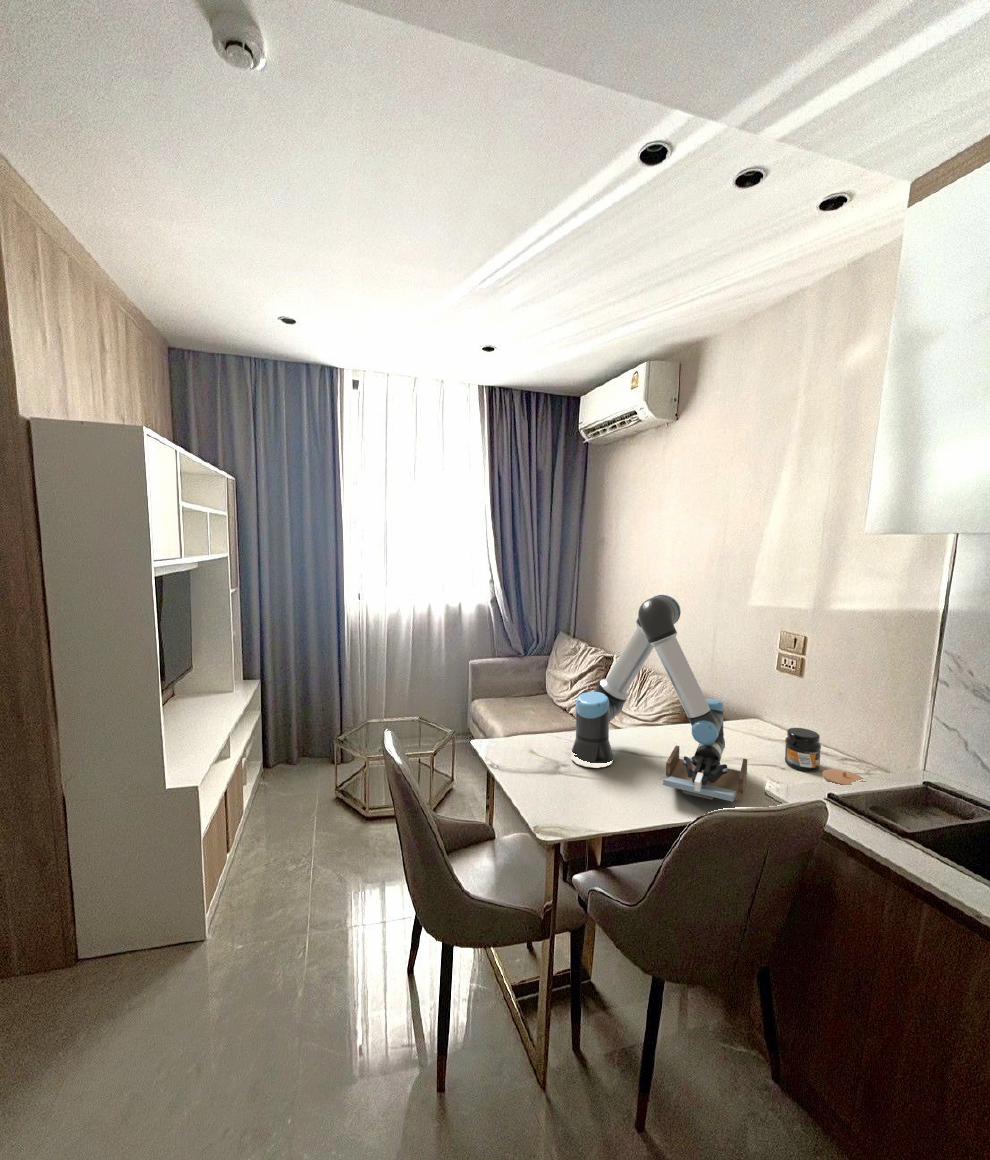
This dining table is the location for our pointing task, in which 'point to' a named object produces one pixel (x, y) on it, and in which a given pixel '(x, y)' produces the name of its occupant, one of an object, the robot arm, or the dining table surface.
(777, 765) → the dining table surface
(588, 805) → the dining table surface
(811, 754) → the supplement container
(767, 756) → the dining table surface
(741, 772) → the cart bed
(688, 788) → the tailgate
